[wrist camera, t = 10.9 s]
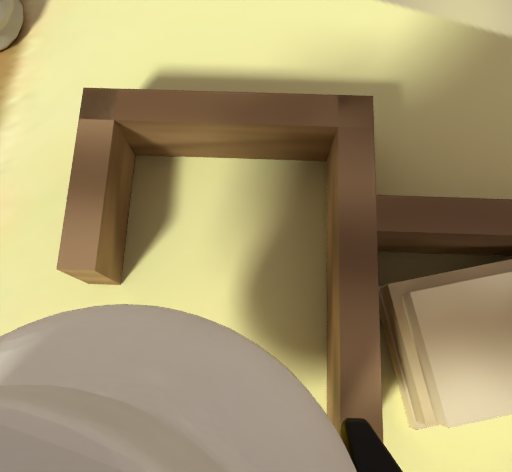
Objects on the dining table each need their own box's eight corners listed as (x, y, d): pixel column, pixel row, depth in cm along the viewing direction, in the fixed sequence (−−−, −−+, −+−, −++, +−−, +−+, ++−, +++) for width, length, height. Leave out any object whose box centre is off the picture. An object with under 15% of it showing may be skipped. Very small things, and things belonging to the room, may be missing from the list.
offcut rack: (624, 445, 20) (700, 462, 16) (70, 422, 20) (31, 434, 17) (578, 140, 23) (632, 103, 20) (108, 126, 24) (83, 87, 20)
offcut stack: (561, 392, 21) (622, 399, 17) (407, 425, 20) (437, 439, 17) (515, 261, 22) (563, 243, 19) (371, 290, 22) (392, 277, 18)
